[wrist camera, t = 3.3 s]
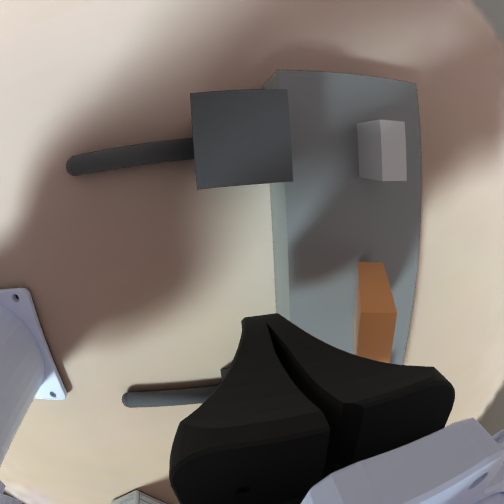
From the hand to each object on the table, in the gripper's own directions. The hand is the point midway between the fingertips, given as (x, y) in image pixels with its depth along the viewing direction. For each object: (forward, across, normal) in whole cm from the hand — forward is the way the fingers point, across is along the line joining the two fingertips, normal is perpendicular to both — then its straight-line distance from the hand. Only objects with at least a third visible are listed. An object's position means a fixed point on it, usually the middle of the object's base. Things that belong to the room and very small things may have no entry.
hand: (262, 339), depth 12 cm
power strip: (+6, -5, 0) cm, 8 cm away
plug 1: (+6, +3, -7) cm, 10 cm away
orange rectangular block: (+3, -6, 0) cm, 6 cm away
